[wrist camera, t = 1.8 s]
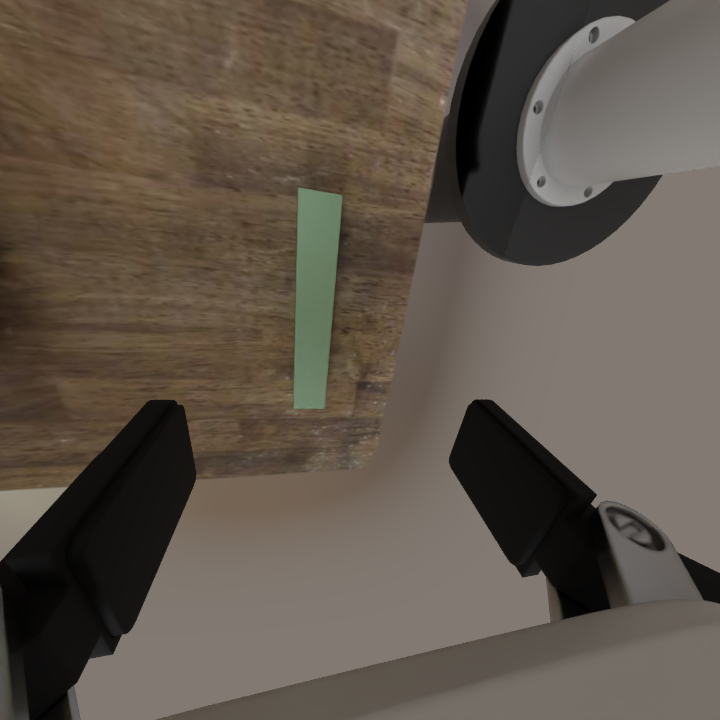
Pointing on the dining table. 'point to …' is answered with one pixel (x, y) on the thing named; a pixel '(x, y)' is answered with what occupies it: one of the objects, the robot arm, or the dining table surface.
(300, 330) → the bar
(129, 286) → the dining table surface
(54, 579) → the robot arm
